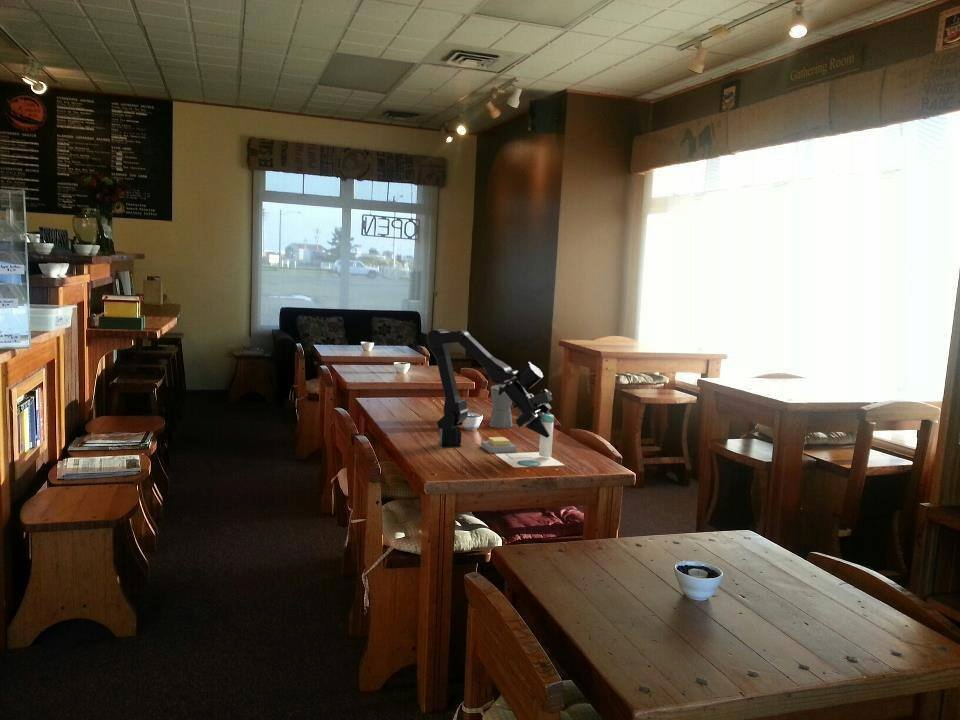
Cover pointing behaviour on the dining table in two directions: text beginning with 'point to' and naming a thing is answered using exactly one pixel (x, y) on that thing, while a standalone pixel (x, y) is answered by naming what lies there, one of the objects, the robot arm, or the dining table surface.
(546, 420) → the marker
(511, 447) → the button housing
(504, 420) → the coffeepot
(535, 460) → the drawing board
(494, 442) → the button
